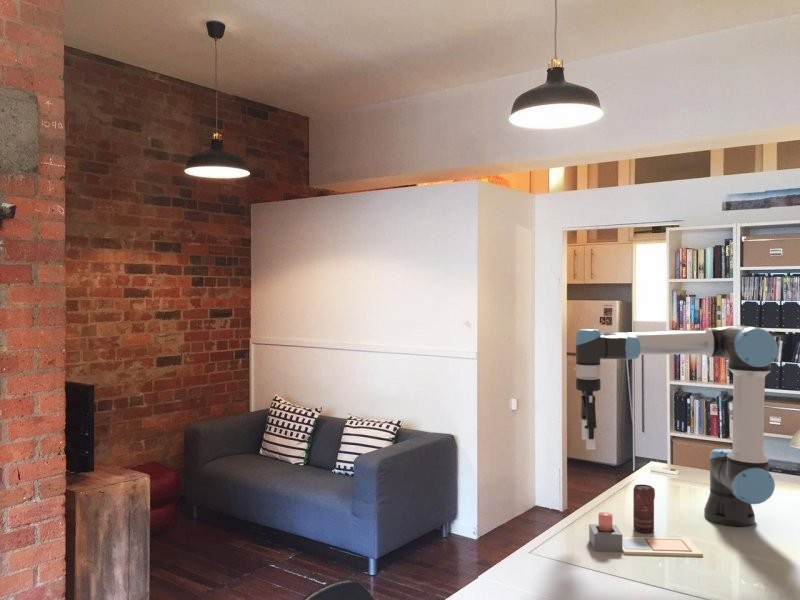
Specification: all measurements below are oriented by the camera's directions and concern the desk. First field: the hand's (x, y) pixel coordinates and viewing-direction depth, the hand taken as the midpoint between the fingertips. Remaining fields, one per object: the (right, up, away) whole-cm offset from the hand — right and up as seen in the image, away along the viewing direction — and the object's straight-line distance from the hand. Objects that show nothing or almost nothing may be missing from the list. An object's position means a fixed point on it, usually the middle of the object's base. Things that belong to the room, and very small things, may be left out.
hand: (588, 444), depth 212 cm
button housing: (+1, -27, -13) cm, 31 cm away
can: (+17, -27, -1) cm, 32 cm away
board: (+16, -27, -15) cm, 35 cm away
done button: (+1, -22, -14) cm, 26 cm away
